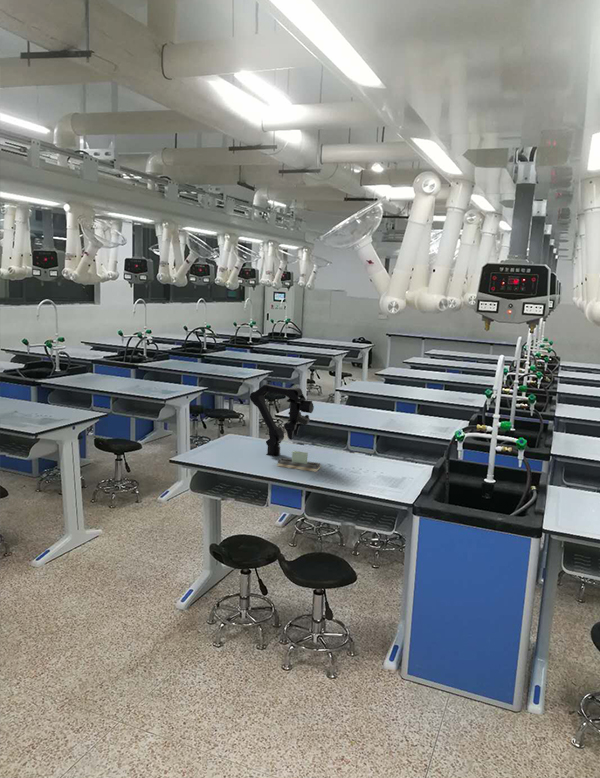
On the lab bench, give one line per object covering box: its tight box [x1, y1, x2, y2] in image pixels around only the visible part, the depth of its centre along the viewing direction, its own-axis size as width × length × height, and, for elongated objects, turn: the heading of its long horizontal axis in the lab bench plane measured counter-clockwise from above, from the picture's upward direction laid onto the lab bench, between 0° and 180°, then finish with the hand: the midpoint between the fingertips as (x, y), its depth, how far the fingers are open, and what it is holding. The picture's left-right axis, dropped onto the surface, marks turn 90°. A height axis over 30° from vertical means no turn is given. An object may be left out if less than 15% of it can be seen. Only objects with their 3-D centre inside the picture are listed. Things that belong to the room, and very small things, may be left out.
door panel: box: [291, 450, 309, 464], centre depth 312 cm, size 8×2×7 cm, turn 73°
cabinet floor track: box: [276, 457, 322, 473], centre depth 312 cm, size 22×9×2 cm, turn 73°
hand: (293, 437), depth 325 cm, fingers open, 9 cm apart
